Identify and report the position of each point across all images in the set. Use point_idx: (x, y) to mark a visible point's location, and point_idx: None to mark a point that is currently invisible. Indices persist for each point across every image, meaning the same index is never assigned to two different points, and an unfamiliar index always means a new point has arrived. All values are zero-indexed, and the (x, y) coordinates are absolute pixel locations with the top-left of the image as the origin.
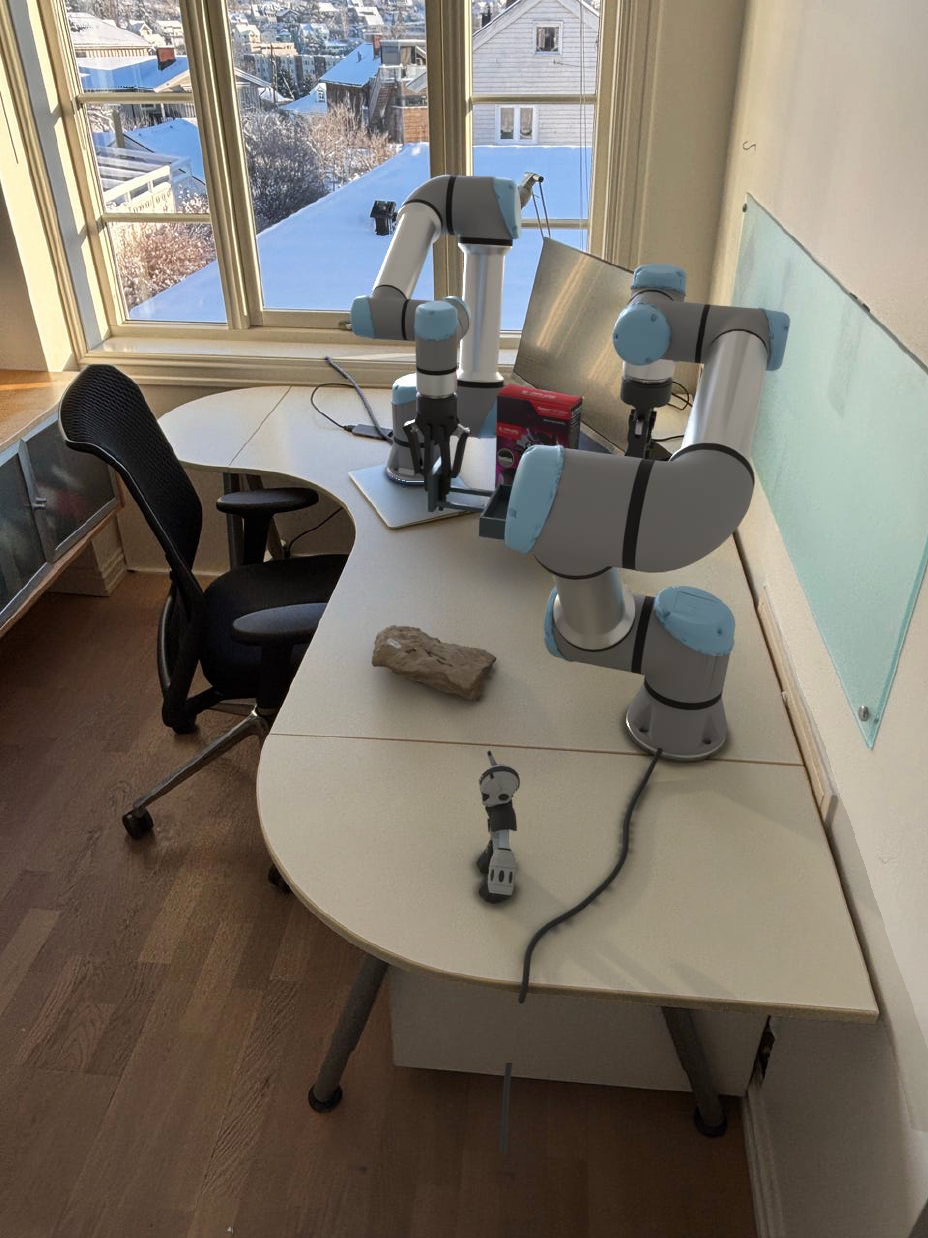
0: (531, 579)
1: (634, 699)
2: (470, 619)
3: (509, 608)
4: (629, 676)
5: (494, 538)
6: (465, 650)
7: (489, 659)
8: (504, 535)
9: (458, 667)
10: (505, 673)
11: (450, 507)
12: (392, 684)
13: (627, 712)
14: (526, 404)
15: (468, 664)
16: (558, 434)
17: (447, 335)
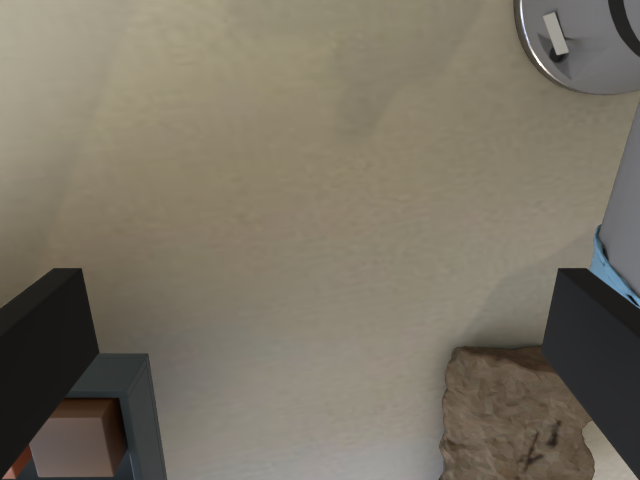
0: (154, 339)
1: (635, 85)
2: (325, 403)
3: (270, 355)
4: (444, 104)
5: (166, 477)
6: (475, 404)
7: (476, 361)
8: (160, 469)
9: (560, 411)
10: (472, 322)
11: None
12: None
13: (599, 94)
14: None
15: (531, 395)
16: None
17: None
